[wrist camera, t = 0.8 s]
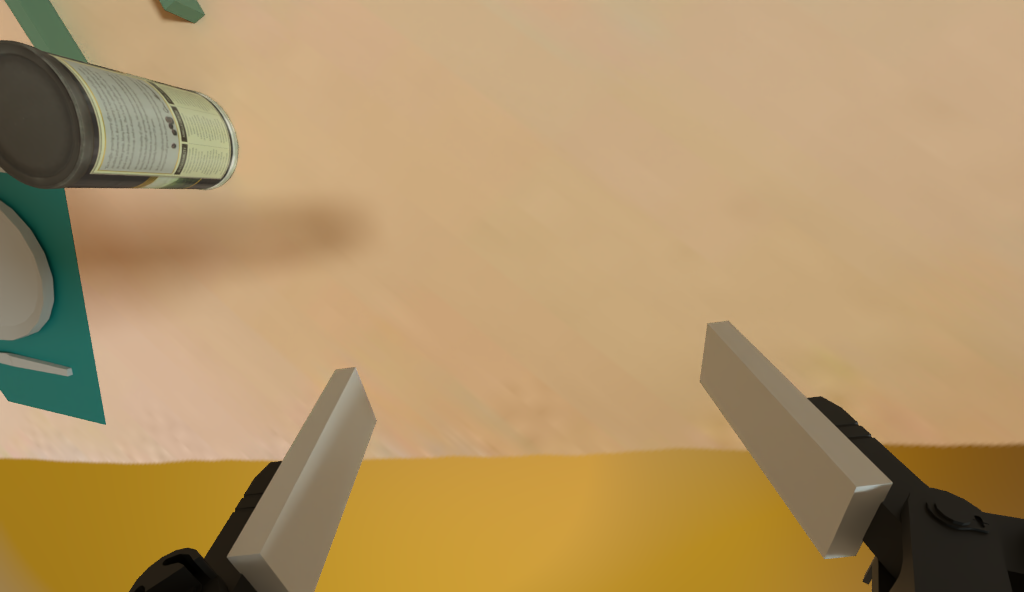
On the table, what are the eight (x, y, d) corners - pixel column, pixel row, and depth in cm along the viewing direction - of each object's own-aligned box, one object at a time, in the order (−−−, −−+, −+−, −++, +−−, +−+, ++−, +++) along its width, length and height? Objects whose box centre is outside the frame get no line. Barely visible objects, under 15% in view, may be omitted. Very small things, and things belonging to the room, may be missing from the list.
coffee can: (203, 209, 44) (41, 215, 31) (140, 134, 43) (-57, 107, 30) (257, 149, 42) (105, 128, 28) (191, 68, 40) (-1, 4, 27)
